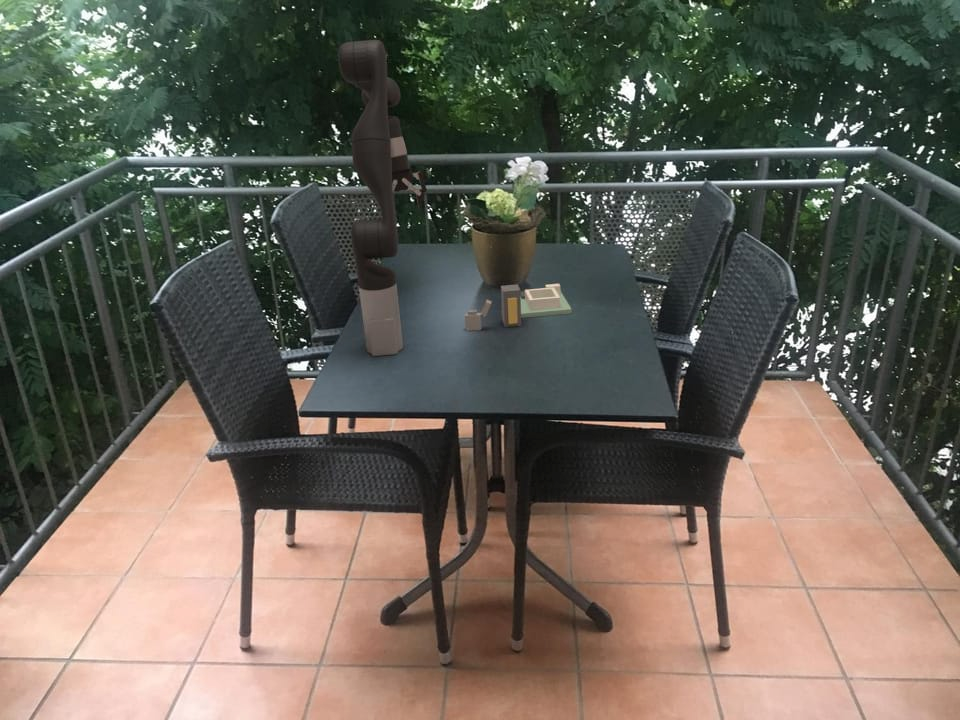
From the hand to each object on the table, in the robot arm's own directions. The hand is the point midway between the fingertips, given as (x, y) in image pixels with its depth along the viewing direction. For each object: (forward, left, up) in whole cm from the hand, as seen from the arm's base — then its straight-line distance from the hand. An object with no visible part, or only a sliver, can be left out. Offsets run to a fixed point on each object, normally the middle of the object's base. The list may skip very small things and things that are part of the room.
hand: (405, 211), depth 224 cm
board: (-22, -35, -24) cm, 48 cm away
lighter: (-35, -16, -25) cm, 46 cm away
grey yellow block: (-33, -25, -24) cm, 48 cm away
